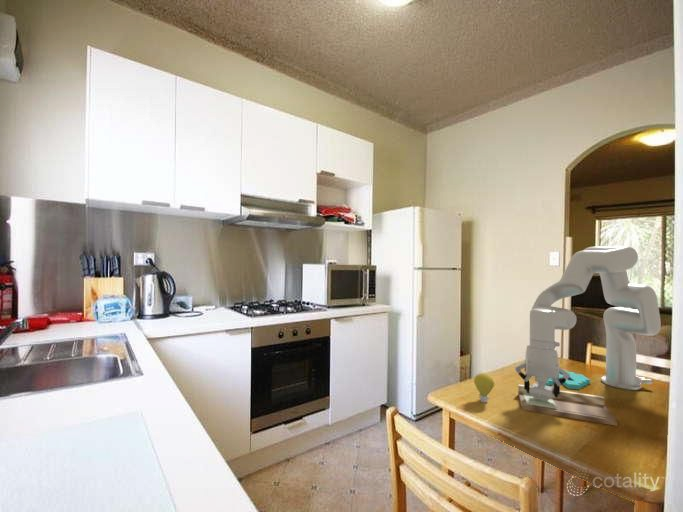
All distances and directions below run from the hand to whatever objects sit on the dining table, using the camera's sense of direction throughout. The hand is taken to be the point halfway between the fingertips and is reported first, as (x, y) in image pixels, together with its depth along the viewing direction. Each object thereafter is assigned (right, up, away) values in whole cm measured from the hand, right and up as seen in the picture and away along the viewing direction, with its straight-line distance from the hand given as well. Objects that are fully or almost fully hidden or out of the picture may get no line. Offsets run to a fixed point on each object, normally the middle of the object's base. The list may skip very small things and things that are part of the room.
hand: (541, 393), depth 116 cm
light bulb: (-19, -4, +3) cm, 20 cm away
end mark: (-1, -3, 0) cm, 3 cm away
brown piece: (+6, -4, -3) cm, 8 cm away
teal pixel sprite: (+23, -5, +24) cm, 34 cm away
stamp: (0, -2, 0) cm, 2 cm away
